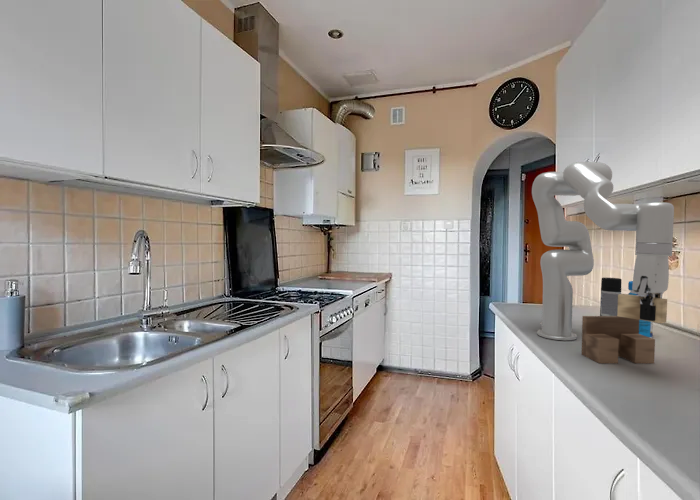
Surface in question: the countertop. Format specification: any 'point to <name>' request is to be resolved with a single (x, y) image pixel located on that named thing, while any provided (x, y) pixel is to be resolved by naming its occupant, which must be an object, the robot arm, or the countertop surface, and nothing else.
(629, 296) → the silver and tan rail
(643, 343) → the wooden two-prong bracket
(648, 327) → the beverage bottle
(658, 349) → the countertop surface
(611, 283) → the spray can
